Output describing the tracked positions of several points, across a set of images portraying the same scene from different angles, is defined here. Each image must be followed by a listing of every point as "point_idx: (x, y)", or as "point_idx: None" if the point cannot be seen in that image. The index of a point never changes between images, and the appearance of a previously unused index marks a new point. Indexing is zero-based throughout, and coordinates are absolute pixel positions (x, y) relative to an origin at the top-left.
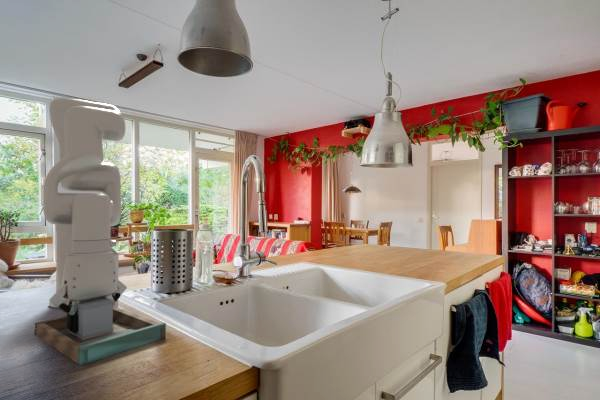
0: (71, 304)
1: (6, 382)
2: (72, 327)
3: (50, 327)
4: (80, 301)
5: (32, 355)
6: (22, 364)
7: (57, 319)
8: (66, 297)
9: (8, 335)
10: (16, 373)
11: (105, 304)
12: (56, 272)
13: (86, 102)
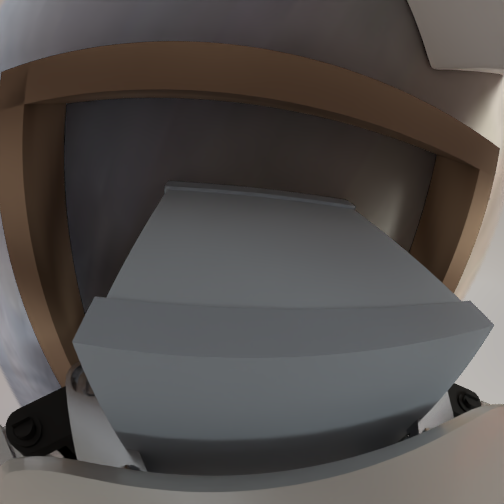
0: (110, 440)
1: (20, 405)
2: None
3: (35, 274)
4: (200, 463)
5: (27, 344)
6: (20, 371)
7: (110, 91)
8: (41, 471)
9: (3, 12)
10: (23, 394)
11: None
12: None
13: None
